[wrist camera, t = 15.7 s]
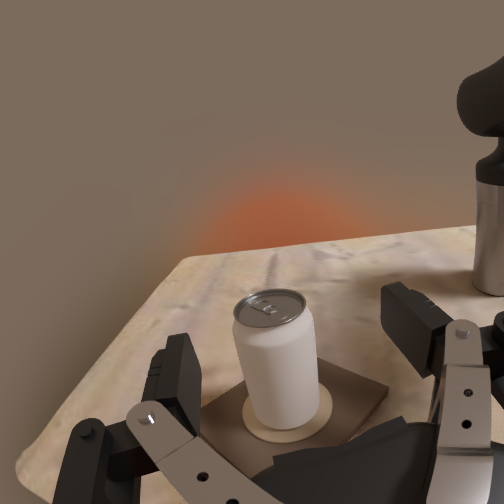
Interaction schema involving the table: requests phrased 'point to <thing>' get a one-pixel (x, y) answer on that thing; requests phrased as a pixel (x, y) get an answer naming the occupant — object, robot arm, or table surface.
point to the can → (278, 356)
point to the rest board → (288, 440)
